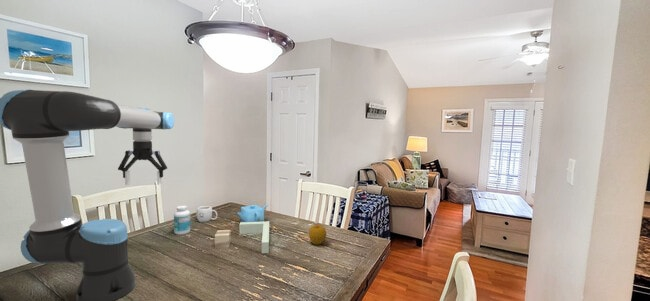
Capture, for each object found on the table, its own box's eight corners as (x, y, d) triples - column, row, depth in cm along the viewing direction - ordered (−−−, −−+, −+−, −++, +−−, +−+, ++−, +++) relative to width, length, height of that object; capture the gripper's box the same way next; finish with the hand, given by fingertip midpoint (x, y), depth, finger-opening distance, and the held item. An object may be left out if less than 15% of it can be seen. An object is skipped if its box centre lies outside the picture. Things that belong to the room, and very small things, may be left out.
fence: (268, 253, 118) (268, 242, 118) (233, 255, 115) (233, 244, 115) (269, 230, 144) (269, 221, 143) (240, 231, 141) (240, 222, 140)
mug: (193, 222, 151) (193, 209, 151) (201, 217, 160) (201, 204, 159) (214, 223, 151) (213, 210, 150) (220, 218, 159) (220, 205, 158)
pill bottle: (173, 231, 139) (173, 205, 138) (189, 228, 143) (189, 203, 142) (174, 236, 133) (174, 209, 131) (191, 233, 137) (191, 207, 135)
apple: (329, 244, 129) (330, 226, 128) (315, 249, 123) (316, 230, 123) (319, 238, 135) (319, 221, 135) (305, 242, 130) (305, 224, 129)
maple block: (228, 247, 123) (228, 235, 122) (214, 248, 121) (214, 235, 121) (230, 241, 128) (230, 229, 128) (217, 242, 127) (217, 230, 127)
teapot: (232, 223, 152) (232, 204, 151) (262, 217, 163) (262, 199, 161) (242, 233, 139) (242, 211, 138) (274, 226, 150) (274, 206, 149)
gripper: (173, 140, 134) (174, 182, 136) (116, 139, 129) (118, 183, 130) (168, 141, 127) (169, 185, 129) (107, 140, 121) (109, 186, 123)
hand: (143, 184), depth 130 cm, fingers open, 13 cm apart
